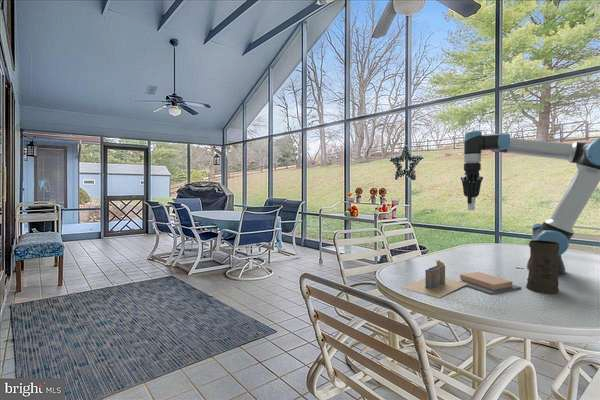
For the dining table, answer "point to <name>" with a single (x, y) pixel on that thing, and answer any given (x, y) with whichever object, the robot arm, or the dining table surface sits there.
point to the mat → (490, 289)
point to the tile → (486, 280)
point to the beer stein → (543, 267)
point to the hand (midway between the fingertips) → (471, 210)
